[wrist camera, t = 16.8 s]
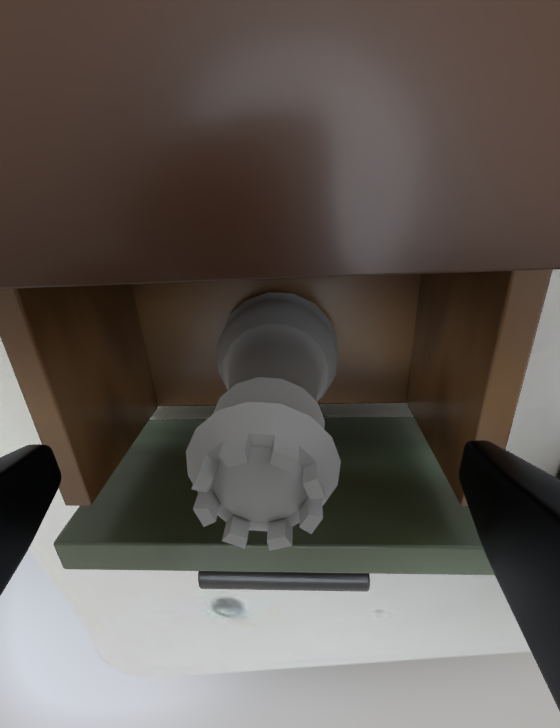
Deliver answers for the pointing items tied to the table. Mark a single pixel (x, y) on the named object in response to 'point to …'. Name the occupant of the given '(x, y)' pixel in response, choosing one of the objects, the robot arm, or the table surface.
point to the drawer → (351, 385)
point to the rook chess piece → (268, 423)
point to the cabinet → (276, 139)
